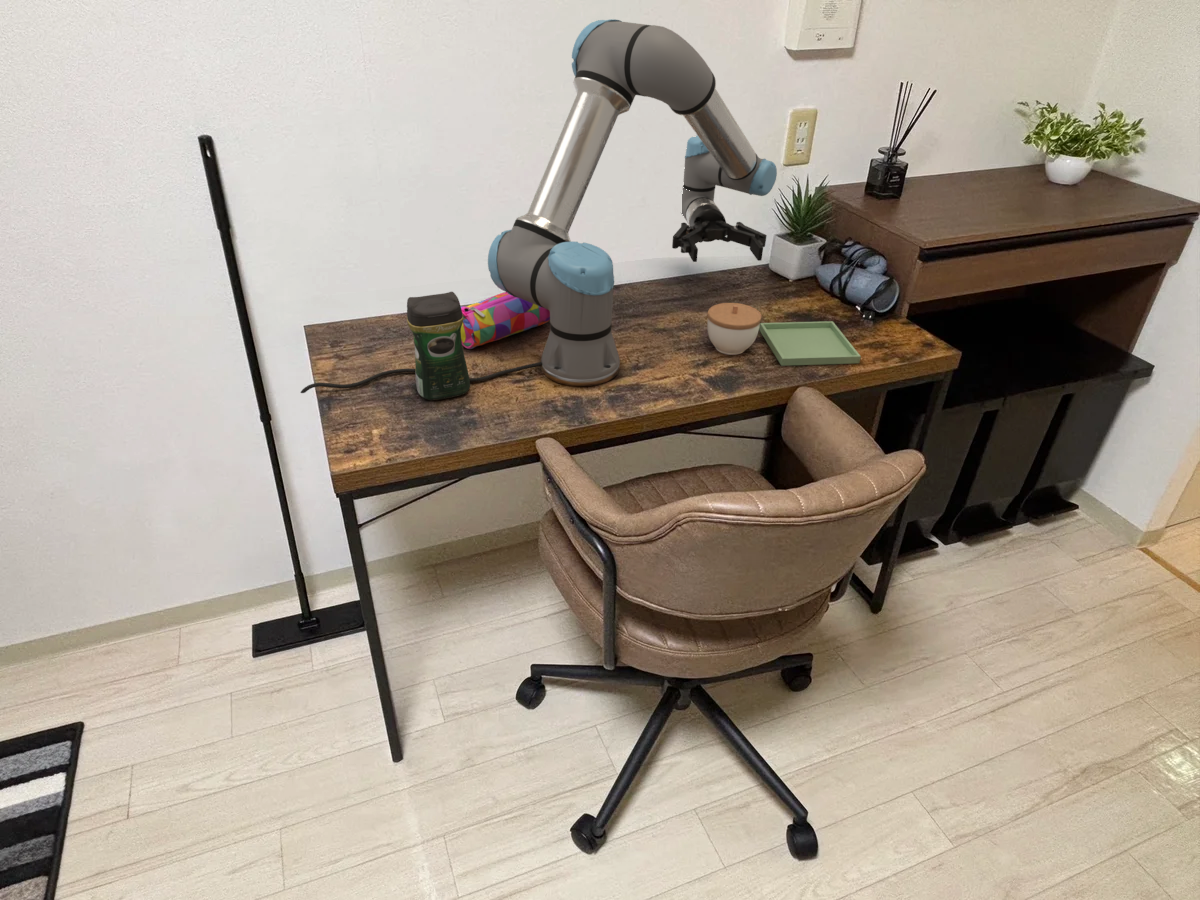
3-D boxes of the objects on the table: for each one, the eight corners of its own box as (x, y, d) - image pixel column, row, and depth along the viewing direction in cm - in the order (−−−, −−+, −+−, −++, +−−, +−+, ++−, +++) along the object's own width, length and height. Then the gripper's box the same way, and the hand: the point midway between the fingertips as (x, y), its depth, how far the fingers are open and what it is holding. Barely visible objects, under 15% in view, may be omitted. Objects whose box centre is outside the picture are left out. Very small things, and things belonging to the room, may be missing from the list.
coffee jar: (464, 375, 147) (455, 284, 136) (474, 396, 141) (466, 301, 130) (413, 384, 144) (400, 290, 133) (421, 405, 138) (408, 309, 127)
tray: (781, 365, 153) (782, 358, 152) (759, 329, 166) (760, 322, 166) (859, 363, 155) (861, 356, 154) (831, 327, 168) (832, 321, 167)
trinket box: (754, 338, 163) (760, 296, 158) (758, 362, 154) (764, 319, 149) (703, 334, 164) (708, 293, 158) (704, 358, 155) (709, 315, 150)
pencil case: (472, 359, 152) (469, 317, 147) (446, 342, 158) (442, 301, 153) (557, 328, 165) (557, 288, 160) (530, 313, 170) (529, 274, 165)
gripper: (757, 235, 178) (784, 271, 161) (650, 237, 176) (666, 273, 159) (761, 203, 174) (790, 235, 157) (652, 204, 172) (669, 238, 154)
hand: (728, 255), depth 158 cm, fingers open, 13 cm apart
